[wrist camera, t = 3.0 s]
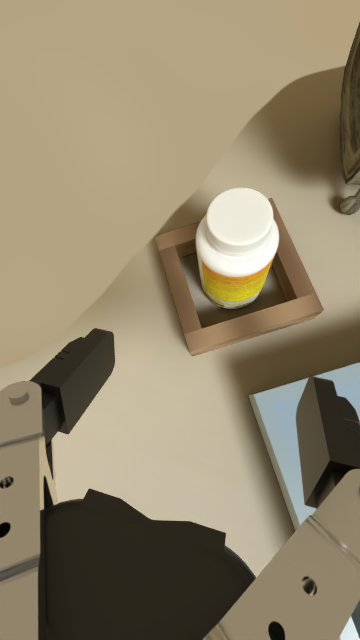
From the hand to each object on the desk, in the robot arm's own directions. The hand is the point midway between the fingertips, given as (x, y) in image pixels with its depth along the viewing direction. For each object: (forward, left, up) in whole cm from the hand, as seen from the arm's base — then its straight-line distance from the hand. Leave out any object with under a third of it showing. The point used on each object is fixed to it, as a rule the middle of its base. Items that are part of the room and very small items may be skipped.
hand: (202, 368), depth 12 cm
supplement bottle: (-5, -8, -14) cm, 17 cm away
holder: (-5, -8, -13) cm, 17 cm away
